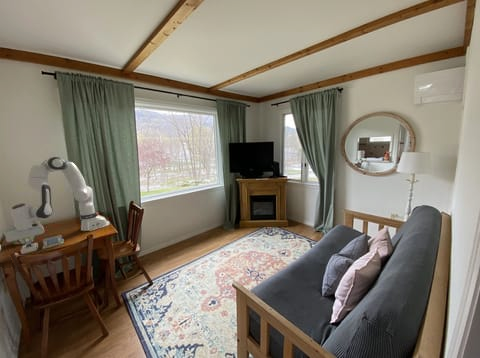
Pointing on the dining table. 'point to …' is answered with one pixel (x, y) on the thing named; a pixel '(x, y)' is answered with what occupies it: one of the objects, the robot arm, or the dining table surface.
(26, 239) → the steel pin
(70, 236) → the dining table surface
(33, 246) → the slot block
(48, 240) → the bar
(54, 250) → the dining table surface
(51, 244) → the peg rack
